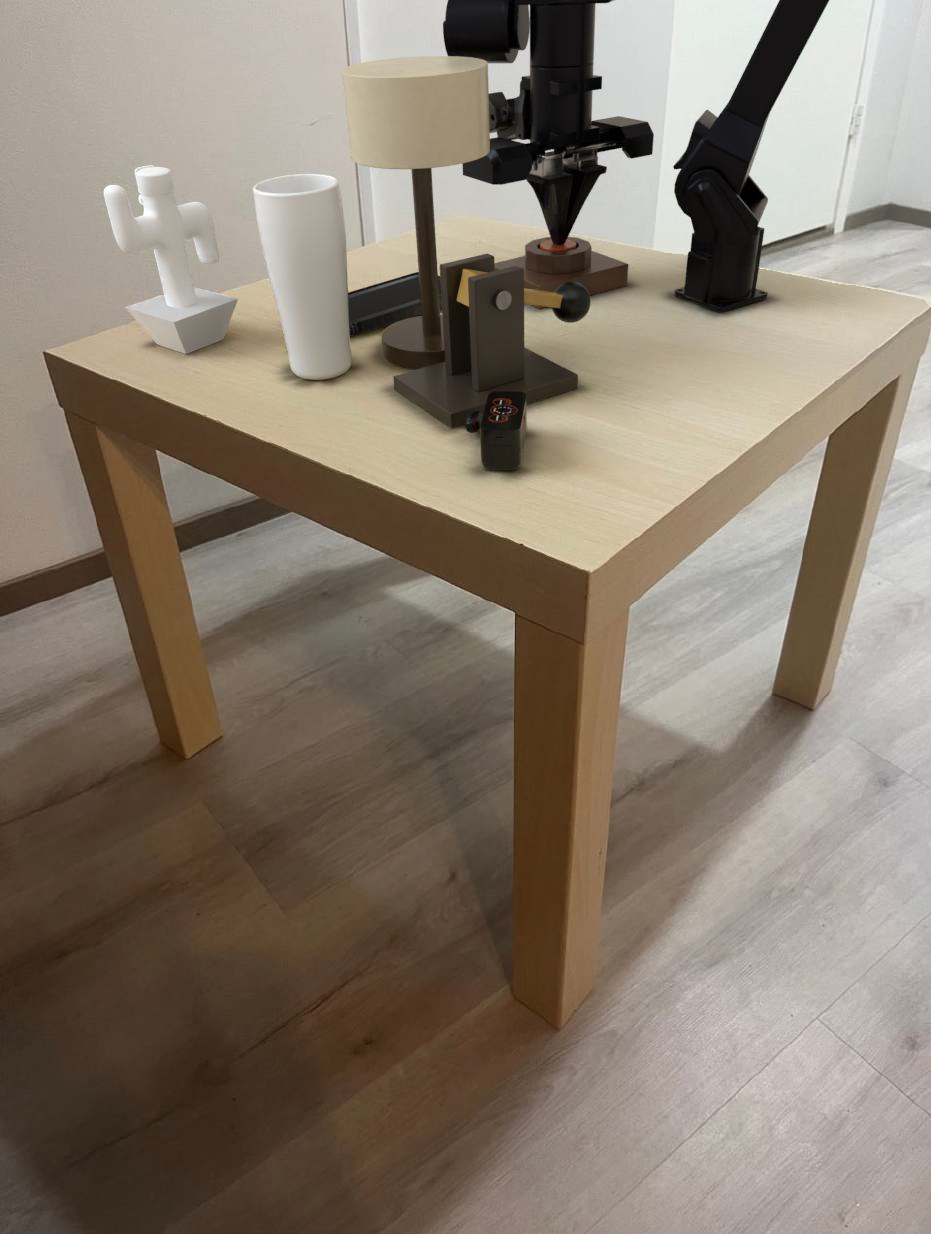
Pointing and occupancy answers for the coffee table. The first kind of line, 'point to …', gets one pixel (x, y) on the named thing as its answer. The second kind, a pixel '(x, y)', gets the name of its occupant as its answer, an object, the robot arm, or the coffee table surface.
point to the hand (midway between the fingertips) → (558, 243)
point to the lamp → (418, 160)
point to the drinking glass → (307, 269)
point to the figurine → (171, 261)
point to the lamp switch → (482, 347)
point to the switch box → (568, 268)
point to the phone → (385, 303)
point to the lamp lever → (544, 298)
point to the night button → (557, 246)
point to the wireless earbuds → (501, 429)
